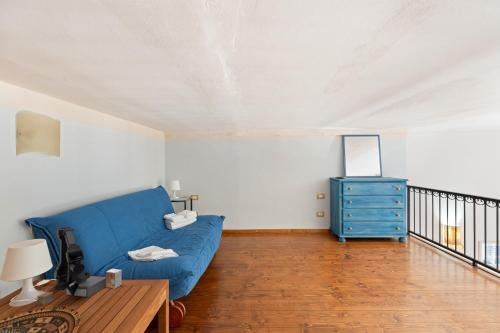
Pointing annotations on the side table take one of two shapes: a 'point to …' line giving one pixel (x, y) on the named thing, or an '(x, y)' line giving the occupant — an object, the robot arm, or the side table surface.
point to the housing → (93, 285)
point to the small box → (113, 278)
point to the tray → (79, 292)
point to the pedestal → (45, 298)
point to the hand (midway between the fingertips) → (72, 295)
